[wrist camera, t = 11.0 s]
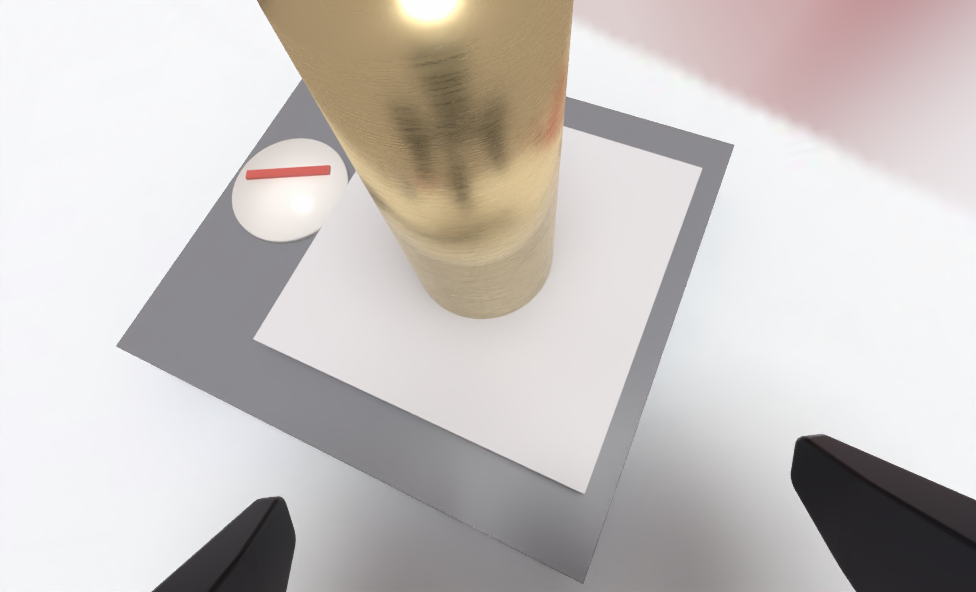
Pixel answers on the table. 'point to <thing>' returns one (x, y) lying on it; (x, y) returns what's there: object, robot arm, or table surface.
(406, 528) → the table surface
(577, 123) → the scale
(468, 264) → the brass weight
